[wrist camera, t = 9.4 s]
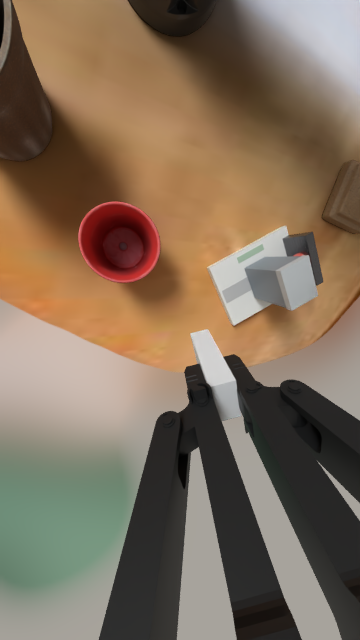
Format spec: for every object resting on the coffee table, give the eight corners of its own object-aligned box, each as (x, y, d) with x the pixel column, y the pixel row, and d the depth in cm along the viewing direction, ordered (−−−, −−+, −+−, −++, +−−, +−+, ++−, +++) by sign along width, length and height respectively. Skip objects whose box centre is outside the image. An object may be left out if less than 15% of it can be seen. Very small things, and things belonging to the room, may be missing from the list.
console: (230, 323, 46) (248, 335, 39) (206, 267, 41) (221, 269, 34) (296, 286, 47) (325, 290, 40) (280, 226, 42) (310, 220, 35)
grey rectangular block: (254, 298, 44) (291, 310, 33) (243, 268, 41) (280, 271, 31) (274, 287, 44) (318, 295, 34) (265, 256, 41) (308, 255, 31)
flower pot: (105, 202, 34) (95, 182, 25) (163, 235, 38) (172, 228, 29) (82, 260, 36) (65, 261, 27) (140, 286, 39) (142, 295, 30)
